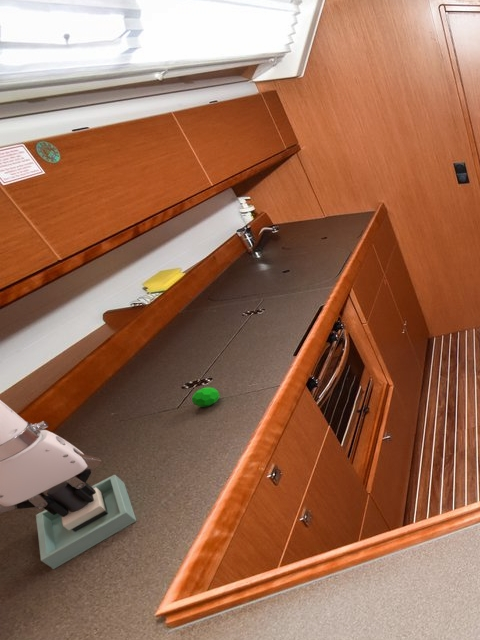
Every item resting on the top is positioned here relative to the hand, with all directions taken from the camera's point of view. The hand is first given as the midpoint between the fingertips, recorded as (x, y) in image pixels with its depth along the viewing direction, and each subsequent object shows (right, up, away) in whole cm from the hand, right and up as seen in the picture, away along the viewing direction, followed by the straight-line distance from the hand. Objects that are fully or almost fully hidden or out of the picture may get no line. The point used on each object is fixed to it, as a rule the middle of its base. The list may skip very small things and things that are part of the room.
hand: (77, 504), depth 81 cm
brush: (0, -3, +2) cm, 3 cm away
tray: (+2, -4, +1) cm, 4 cm away
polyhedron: (-3, +12, +28) cm, 31 cm away
